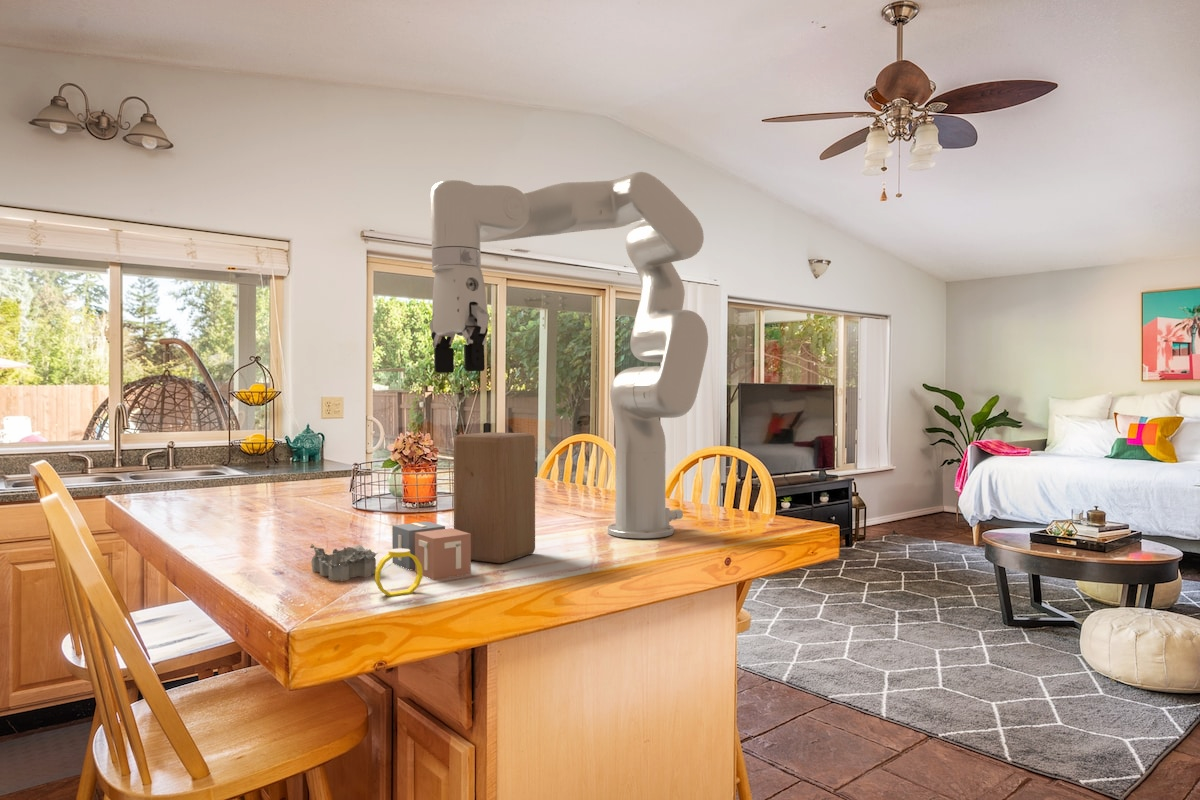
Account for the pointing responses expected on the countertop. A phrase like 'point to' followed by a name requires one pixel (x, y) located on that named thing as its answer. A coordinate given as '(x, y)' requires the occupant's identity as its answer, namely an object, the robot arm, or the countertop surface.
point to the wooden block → (495, 494)
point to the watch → (398, 553)
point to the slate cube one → (409, 540)
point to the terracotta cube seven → (443, 553)
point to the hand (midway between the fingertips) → (459, 371)
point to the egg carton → (344, 562)
